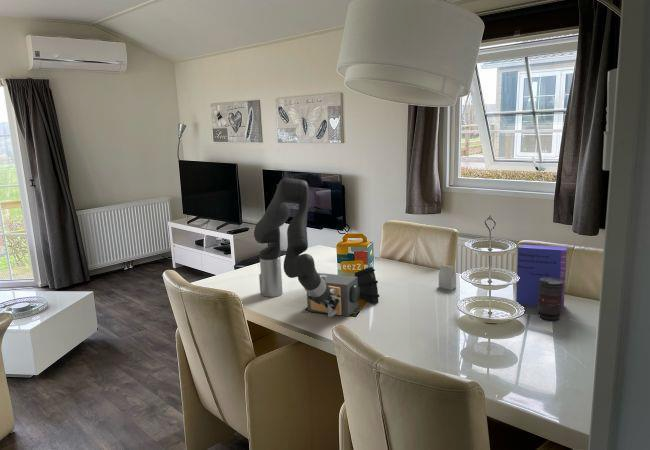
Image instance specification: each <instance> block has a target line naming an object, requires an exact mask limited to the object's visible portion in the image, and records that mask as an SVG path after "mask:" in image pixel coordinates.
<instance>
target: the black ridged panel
mask: <svg viewBox="0 0 650 450" xmlns="http://www.w3.org/2000/svg"><path fill="white" fill-rule="evenodd" d="M375 271H376V269H375V268H374V267H373V266H369V267H366V268H363V269H361V270H359V271H355V272H353V273H354V276H355V277H358V286H359V289H360V296H359V299H361V300H363V301H366V302H369V303H370V304H371V305H375V304H377V303H379V298H380V294H379V292H378V291H379V289H378V284H379V281H378V280H377V279H376V275H375V274H376V273H375Z"/></svg>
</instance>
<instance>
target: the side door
mask: <svg viewBox="0 0 650 450" xmlns="http://www.w3.org/2000/svg"><path fill="white" fill-rule="evenodd" d="M329 288H330V292H331V293H333V295H334V296H337V295H340V300H339V303H338V304H337V306H336V309H335V310H333V309H332V308H331V307H330V305H329V304H328V309H327V308H326V307H325V306H324V305H322V304H317V303H316V302H314V301H312V300H310V299H309V307H310V309H313V310H317V311H322V312H327V313H326V314H327V316H328V317H329V318H332V317H333V316H335V314H337V316H342V315H341V290H340V287H334V286H329Z"/></svg>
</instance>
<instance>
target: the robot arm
mask: <svg viewBox="0 0 650 450" xmlns="http://www.w3.org/2000/svg"><path fill="white" fill-rule="evenodd" d="M277 185H278V186H277V188H276V190H275V193H274V195H273V198H272V199H271V201H270V203H269V205H268V206H267V208H266V210H265V212H264V214H263V216H262V217H261V219H259V220H258V222H257V223H256V224H255V225H254V226H255V227H254V228H253V229H254V230H253V237H254V240H255V241H256V242H257V243H259V244H268V246H267V247H265V248H264V249H262V250H260V251H259V265H260V267H259V268H260V273H259V275H258V279H259V291H260V295H261V296H263V297H265V298H266V297H267V298H273V297H274V298H275V297H278V296H281V295H283V293H284V292H283V278H282V261H281V230H280V229H281V228H280V227H282V226H284V224H285V223H286V222H287V220H288V219H289V217H290V214H291V209H290V208H291V207H290V205H289V204H294V205H298V210H297V211H296V214H295V215H294V217H293V218H292V219H291V221H290V222H289V224H288V226H287V230H286V235H287V236H286V240H287V249H286V252H285V255H284V260H283V271H284V274H285V275H286V277H288V278H290V279H294V278H297V279H298V282H299V283H300V285H301V286H302V287H303V288H304V291H305V292H306V294H307V293H308V294H309V296H308V299H310V300H312V301H314V302H316V303H317V304H322V305H324V306H325V307H326V308H327V309H328V304H329V305H330V307H331V308H332V309H333V310H335V309H336V306H337V304H338V303H339V300H340V295H337V296H334V295H333V293H331V292H330V288H329V286H328V285H327V284H326V282H325V281H324V280H323V278H322V277H321V276H320V275H319V274H318V273H319V272H317V270H316V267H315V266H316V265H315V260H314V257H313V256H312V255H311V254H309V253H305V252H306V251H307V250H308V248H309V245H308V244H309V243H308V242H309V241H308V230H307V227H308V226H307V225H308V209H309V194H310V193H309V191H310V190H309V184H308V182H307V181H306V180H303V179H298V178H292V177H291V178H290V177H283V178H282V179H280V181H279V183H278V184H277ZM302 253H303V254H302Z"/></svg>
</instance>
